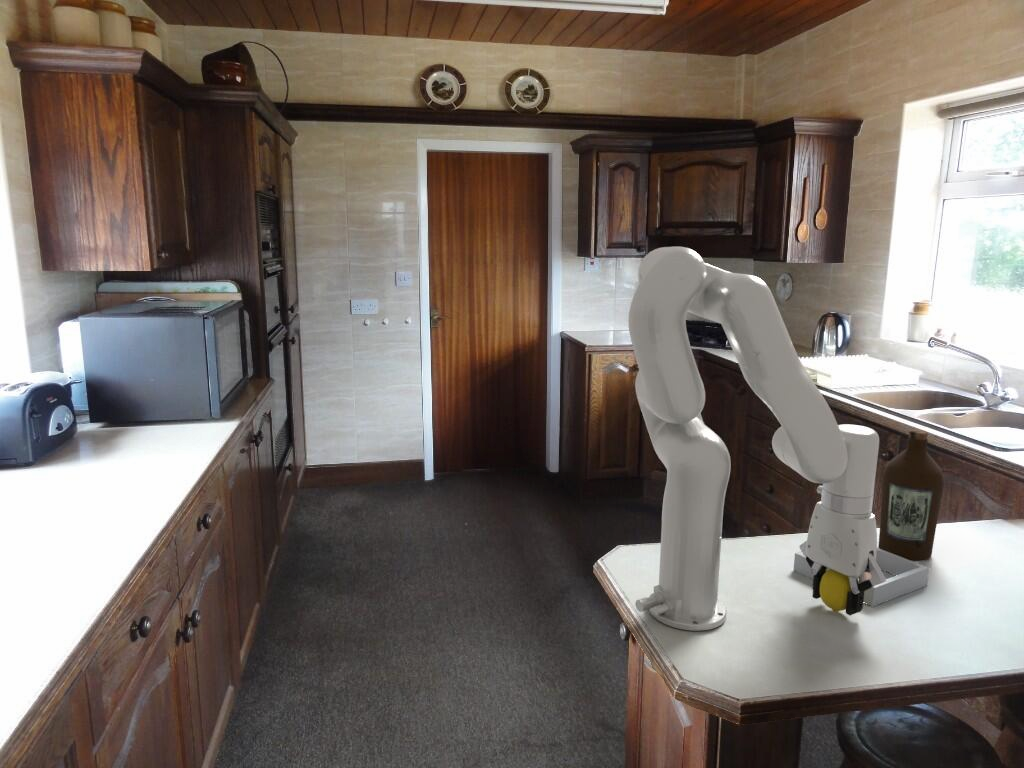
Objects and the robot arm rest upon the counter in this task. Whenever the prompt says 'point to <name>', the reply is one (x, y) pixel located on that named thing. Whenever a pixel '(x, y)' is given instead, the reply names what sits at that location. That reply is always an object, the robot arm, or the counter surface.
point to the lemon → (834, 590)
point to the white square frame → (905, 581)
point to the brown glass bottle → (911, 501)
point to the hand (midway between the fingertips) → (836, 603)
